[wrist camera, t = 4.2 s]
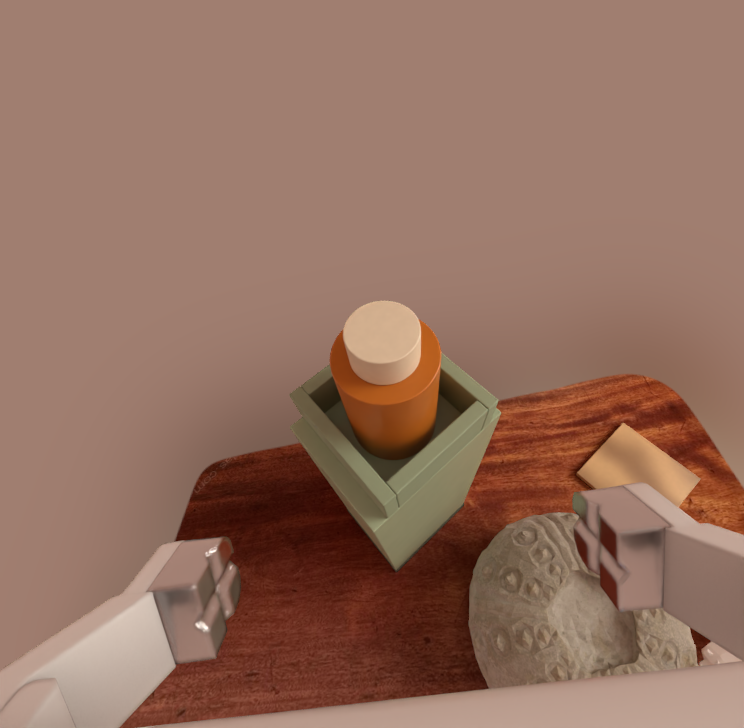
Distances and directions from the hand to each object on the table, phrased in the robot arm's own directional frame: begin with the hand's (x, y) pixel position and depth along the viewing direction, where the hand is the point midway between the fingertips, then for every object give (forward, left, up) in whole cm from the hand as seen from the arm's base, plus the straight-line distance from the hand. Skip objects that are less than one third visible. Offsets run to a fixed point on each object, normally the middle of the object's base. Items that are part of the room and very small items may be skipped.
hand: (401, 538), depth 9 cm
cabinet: (+5, +7, -37) cm, 38 cm away
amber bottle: (+5, +7, -12) cm, 14 cm away
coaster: (+26, -8, -37) cm, 46 cm away
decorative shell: (+9, -11, -37) cm, 39 cm away
